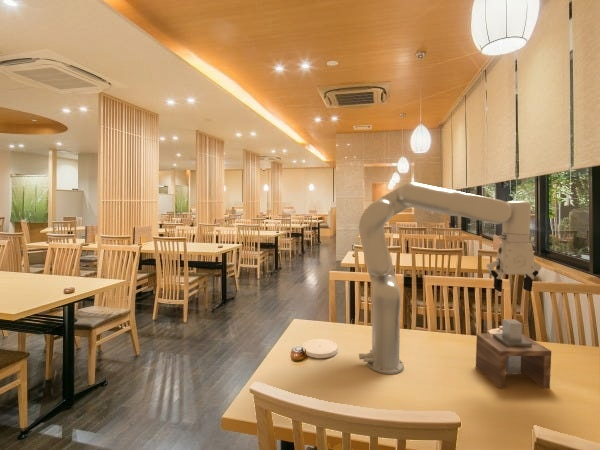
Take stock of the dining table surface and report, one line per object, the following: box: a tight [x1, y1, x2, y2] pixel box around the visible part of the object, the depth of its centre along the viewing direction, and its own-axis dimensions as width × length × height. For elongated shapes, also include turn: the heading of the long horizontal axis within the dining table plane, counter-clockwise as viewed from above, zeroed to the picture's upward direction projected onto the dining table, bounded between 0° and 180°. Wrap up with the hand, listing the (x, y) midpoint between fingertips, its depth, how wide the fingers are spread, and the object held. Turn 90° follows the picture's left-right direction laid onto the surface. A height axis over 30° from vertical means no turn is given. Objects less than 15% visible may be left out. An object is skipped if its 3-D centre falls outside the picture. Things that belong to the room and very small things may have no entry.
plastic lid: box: [302, 338, 339, 359], centre depth 133 cm, size 14×14×2 cm
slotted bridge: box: [475, 333, 552, 389], centre depth 112 cm, size 16×14×12 cm
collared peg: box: [493, 318, 532, 375], centre depth 112 cm, size 8×8×17 cm
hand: (512, 290), depth 111 cm, fingers open, 9 cm apart
